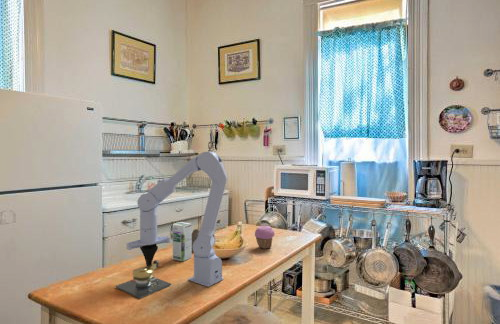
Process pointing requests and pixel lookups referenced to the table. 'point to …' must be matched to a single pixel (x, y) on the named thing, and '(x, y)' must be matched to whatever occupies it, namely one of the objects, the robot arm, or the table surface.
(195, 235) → the vase
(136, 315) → the table surface
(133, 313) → the table surface
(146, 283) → the dark grey plate
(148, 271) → the brass lever handle
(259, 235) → the cupcake
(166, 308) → the table surface
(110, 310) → the table surface
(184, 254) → the syrup box
